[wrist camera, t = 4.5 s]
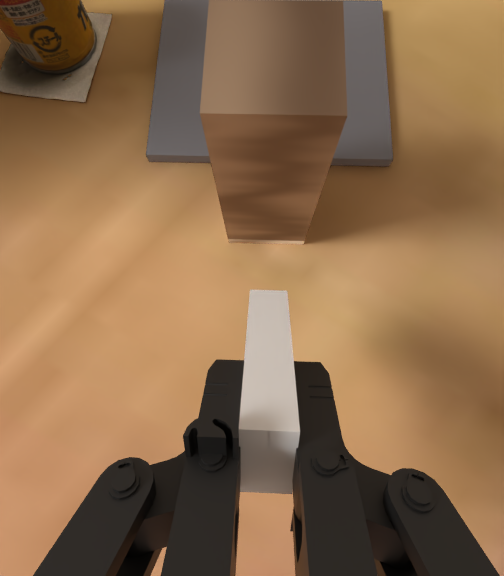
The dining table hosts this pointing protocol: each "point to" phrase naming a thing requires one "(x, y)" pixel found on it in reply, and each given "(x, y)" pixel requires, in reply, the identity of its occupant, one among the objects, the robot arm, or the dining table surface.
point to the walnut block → (272, 111)
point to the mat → (189, 74)
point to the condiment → (51, 48)
